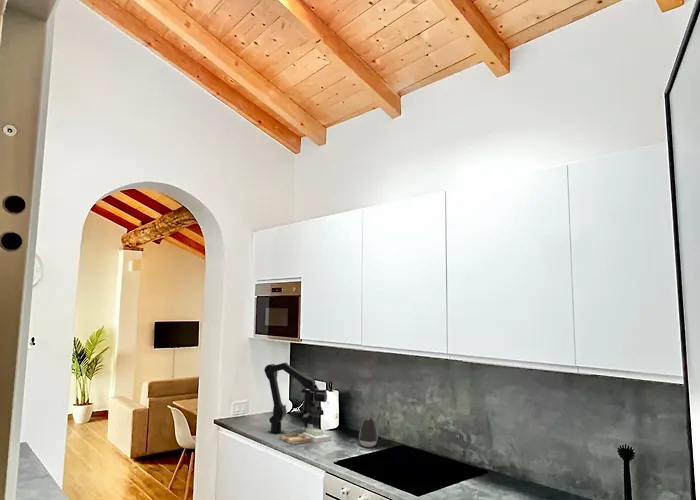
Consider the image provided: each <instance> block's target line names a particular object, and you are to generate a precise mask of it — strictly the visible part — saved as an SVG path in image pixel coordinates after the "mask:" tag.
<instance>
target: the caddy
mask: <svg viewBox="0 0 700 500" xmlns="http://www.w3.org/2000/svg"><path fill="white" fill-rule="evenodd" d="M305 433H308V434H310V435H313V436H321V435H323V434H324V430H321V429H319V428H316V427H314V425H313V424H312V423H311V424H309V423H307V428H305Z"/></svg>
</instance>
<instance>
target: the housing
mask: <svg viewBox="0 0 700 500" xmlns="http://www.w3.org/2000/svg"><path fill="white" fill-rule="evenodd" d="M301 434H302V435H304V436H307V437H310V438H312V442H311V443H316V444H318V443H325V442H331V441H332V440H331V439H332V436H331V435H328V434H326V433H323V435H321V436H313V435H310V434H308V433H306V432H302V433H301Z"/></svg>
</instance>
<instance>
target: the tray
mask: <svg viewBox="0 0 700 500" xmlns="http://www.w3.org/2000/svg"><path fill="white" fill-rule="evenodd" d="M278 438H279V440H280V441H282V440H283V441H282V442H285V443H287V444H290V445H293V446H295V445H302V444H307V443H308V444H309V443H313V442H312V438H310V437H307V436H304V435H302V433H299V432H294V433H287V434H282V435H279V437H278Z"/></svg>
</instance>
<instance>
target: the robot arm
mask: <svg viewBox="0 0 700 500" xmlns="http://www.w3.org/2000/svg"><path fill="white" fill-rule="evenodd" d="M263 370H264V373H265V376H266V377H267V380H268V381H269V387H270V391H271V395H272V401H273V409H272V416H271V417H270V418H269V423H270V429H269V430H268V433H270V434H273V435H276V434H283V432H284V431H282V421H283V419H284V418H286V415H287V412H288V410H287V405H286V404H283V402H282V399H281V394H280V389H279V384H278V372H279V371H282V370H283V371H284V372H286V373H287V374H288V375H290V376H291V377H292V378H294V379H295V380H297V381H298V382H299V383H300V385H301V386H302V387H304V388H303V389H302V390H300V393H301V394H304V395H303V401H302V405H303V407H302V409H301V410H294V411H293V412H292V414H291V417H293V418H297V419H299V418H300V419H301V420H302V423H303V426H304V428H305V429H306V428H308V427H307V423H309V424H312V423H313V421H314V419H315V418H317V417H318V416H323V415H324V413H325V412H324V410H323V407H322V406H316V403H315V402H320V403H327V400H328V393H327V389H319V387H318V385H317V384H316V380H315V379H314V378H312V377H310V376H308V375H305V374H303V373H301V372H300V371H299V370H297V369H296V368H294V367H293V366H291V365H290V364H288V363H287V362H282V363H278V364H274V363H270V364H267V365H266V366H265V367H264V369H263ZM314 401H315V402H314Z"/></svg>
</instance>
